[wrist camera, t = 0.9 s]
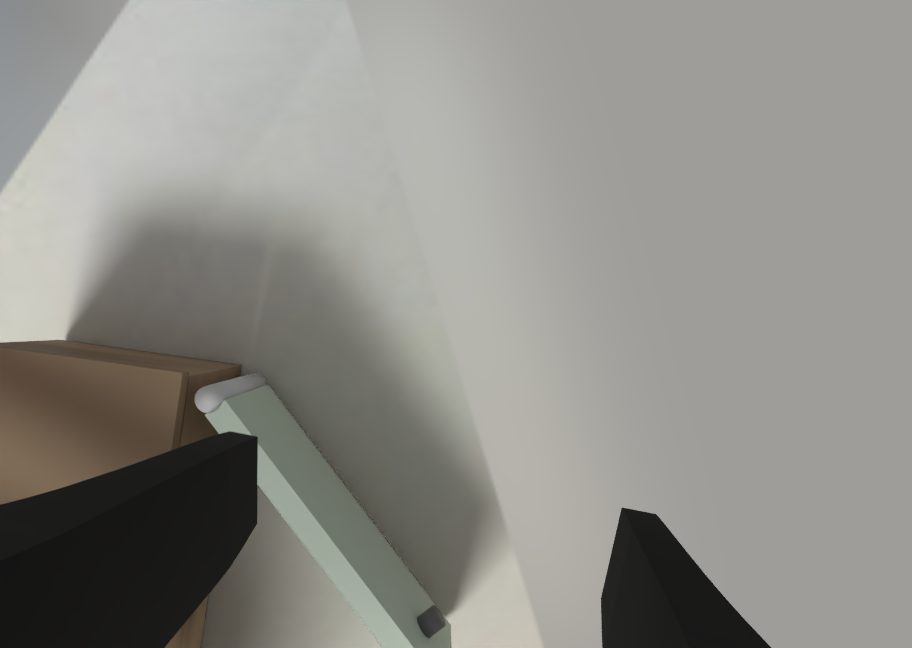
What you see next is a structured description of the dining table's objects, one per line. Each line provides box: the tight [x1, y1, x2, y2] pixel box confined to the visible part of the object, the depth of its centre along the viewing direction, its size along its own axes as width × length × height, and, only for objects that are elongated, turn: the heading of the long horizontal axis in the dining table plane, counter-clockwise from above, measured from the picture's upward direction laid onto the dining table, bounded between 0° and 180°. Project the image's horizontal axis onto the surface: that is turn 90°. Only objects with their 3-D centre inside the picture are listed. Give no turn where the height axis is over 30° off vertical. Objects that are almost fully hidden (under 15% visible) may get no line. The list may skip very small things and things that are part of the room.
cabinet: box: [0, 340, 241, 648], centre depth 24 cm, size 18×9×6 cm, turn 172°
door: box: [195, 373, 451, 648], centre depth 25 cm, size 16×2×6 cm, turn 37°
